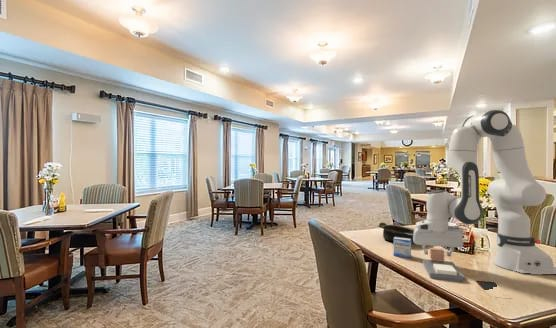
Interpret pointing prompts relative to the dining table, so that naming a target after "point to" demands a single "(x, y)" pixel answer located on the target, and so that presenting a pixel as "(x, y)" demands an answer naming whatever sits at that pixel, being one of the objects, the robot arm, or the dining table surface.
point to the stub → (436, 254)
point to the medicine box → (402, 247)
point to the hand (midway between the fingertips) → (437, 255)
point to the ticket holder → (443, 270)
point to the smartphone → (486, 284)
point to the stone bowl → (396, 232)
